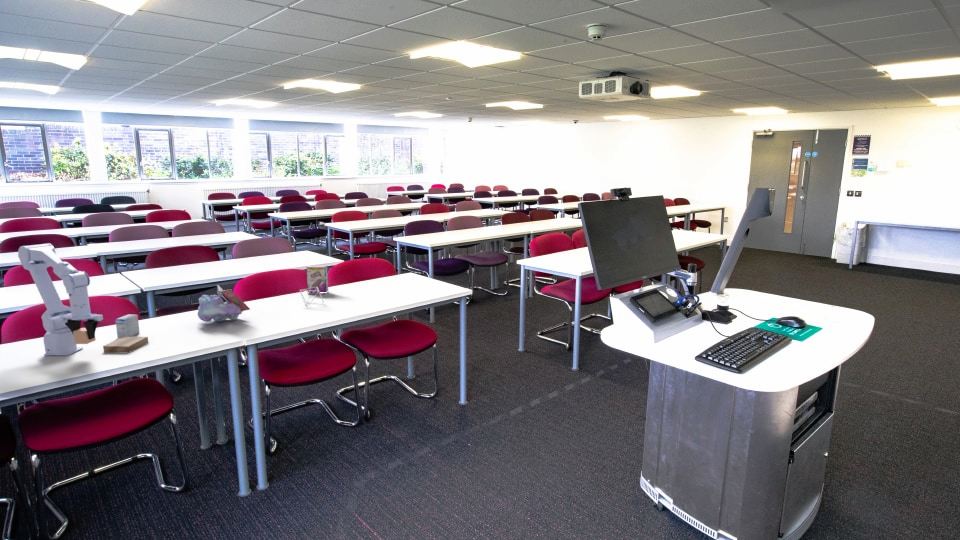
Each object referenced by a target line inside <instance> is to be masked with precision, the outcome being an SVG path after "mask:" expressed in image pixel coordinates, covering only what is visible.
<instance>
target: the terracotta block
mask: <svg viewBox="0 0 960 540" xmlns="http://www.w3.org/2000/svg"><path fill="white" fill-rule="evenodd" d="M73 334H74V341H75V344H76V345H88V344H90V343H93V342H95V341H96V335H95V336H94V338H92V339H89V338H88V335H87V330H86V328H85V327H81V328H80V329H78V330H75V331H73Z"/></svg>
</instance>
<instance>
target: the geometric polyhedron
mask: <svg viewBox="0 0 960 540" xmlns="http://www.w3.org/2000/svg"><path fill="white" fill-rule="evenodd" d="M313 288H315V287H313ZM308 289H310V288H308V287H307V288H306V289H305V288H303V289H301V290H299V292H300V295H301V297H302V300H303V303H304V305H305V307H307V308H308V307H310V304H312V303H313V300H314V299H315V297H316V296H317V295H319V297H320V298H321V300H322V304H324V303H325V301H324V299H323V296H322V294H320V291H318V292H319V294H317V293H318V292H317V293H316V294H314V296H313V294H310V297H309V298H308V300H306V299H305V296H304V295H303V292H302V291H304V292H305V291H306V292H308V291H311V290H308ZM317 289H318V287H317ZM315 290H316V289H315ZM318 290H319V289H318ZM313 293H314V292H313ZM312 296H313V298H312V299H311V297H312ZM310 299H311V301H310V302H309V300H310ZM306 303H308V304H307V306H306Z"/></svg>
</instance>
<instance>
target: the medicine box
mask: <svg viewBox="0 0 960 540" xmlns="http://www.w3.org/2000/svg"><path fill="white" fill-rule="evenodd" d="M114 320H115V321H114V322H115V328H116V335H117V336H116V337H117V338H118V339H120V338H122V337H130V336H131V337H134V336H135V335H137V333H138V334H139V333H140V326H139V325H140V324H139V315H138V314H133V313H132V314H129V313H128V314H126V315H123V316H121V317H118V318H116V319H114Z"/></svg>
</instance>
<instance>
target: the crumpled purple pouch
mask: <svg viewBox="0 0 960 540" xmlns="http://www.w3.org/2000/svg"><path fill="white" fill-rule="evenodd" d="M216 287H217V291H216V293H217V294H210V295H208V294H202V295H201V296H200V297H199V298H198V304H199V306H198V307H197V310H198V311H197V316H198V319H200V320H201V321H202V322H206V323H209V322H211V321H212V320H213V321H215V322H217V323H220V322H223V321H225V320H227V319H229V320H231V321H235V320H237V319H238V318H239V316H240V315H242V313H243V312H245V311H250V310H251V309H250V307H249V306H248V305H247V304H246V303H245V302H244V301H243V300H242V299H241V298H240V297H239V296H238V294H236V292H235V291H234V290H233V289H226V290H225V289H223V288H222V287H221V286H220V285H219V284H216Z"/></svg>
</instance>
